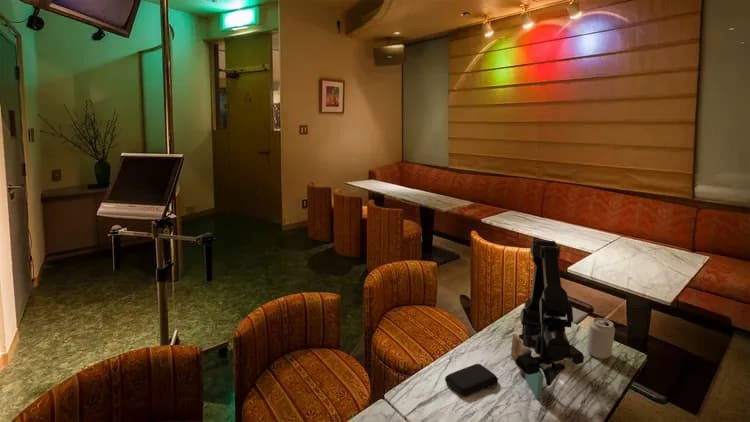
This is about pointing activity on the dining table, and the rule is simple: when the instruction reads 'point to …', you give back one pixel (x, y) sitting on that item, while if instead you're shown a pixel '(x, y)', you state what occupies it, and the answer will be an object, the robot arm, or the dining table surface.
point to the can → (600, 338)
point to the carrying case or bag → (471, 379)
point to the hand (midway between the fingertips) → (548, 384)
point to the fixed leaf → (518, 350)
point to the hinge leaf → (535, 383)
